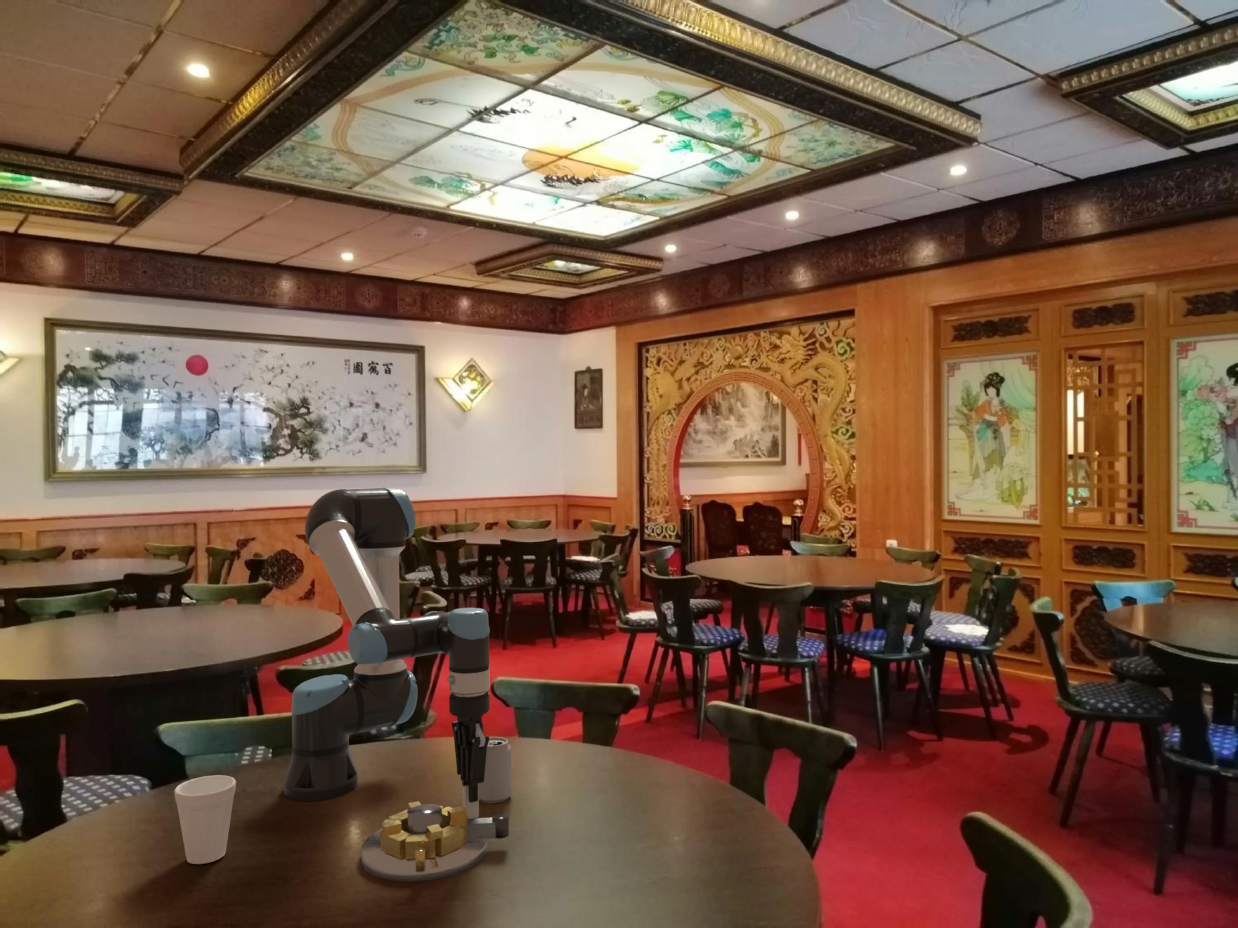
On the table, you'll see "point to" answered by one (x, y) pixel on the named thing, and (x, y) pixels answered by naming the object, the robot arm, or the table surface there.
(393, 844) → the ring nut
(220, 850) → the cup
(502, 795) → the can
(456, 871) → the cap base
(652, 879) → the table surface
